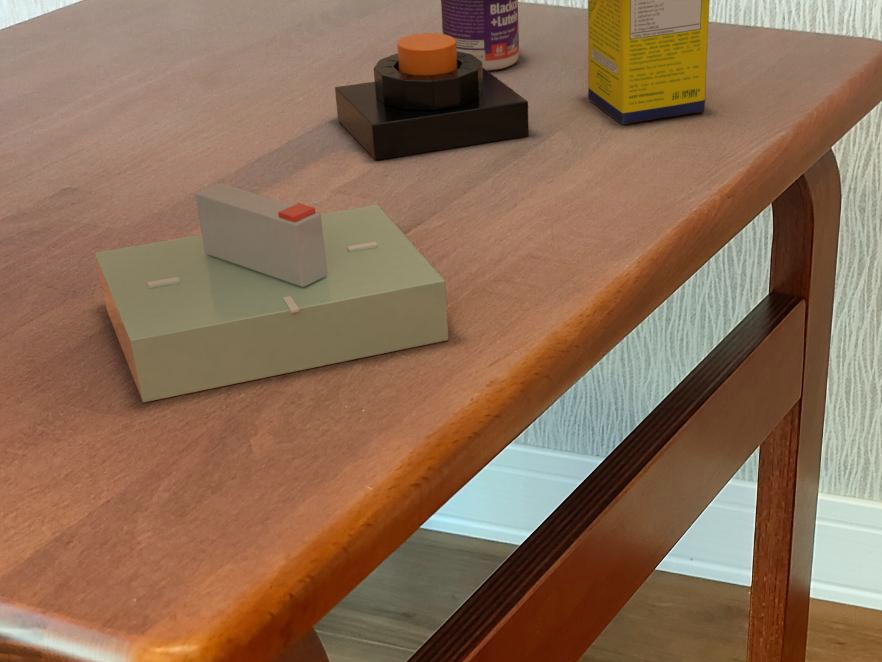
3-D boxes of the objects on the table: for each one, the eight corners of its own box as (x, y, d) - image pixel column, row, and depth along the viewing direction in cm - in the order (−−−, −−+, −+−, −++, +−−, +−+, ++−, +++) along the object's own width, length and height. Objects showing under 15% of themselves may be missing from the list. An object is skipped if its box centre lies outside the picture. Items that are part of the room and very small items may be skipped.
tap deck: (144, 406, 60) (130, 340, 58) (105, 307, 68) (92, 246, 66) (451, 343, 64) (447, 280, 63) (380, 257, 72) (375, 198, 71)
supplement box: (666, 87, 95) (672, -87, 88) (706, 114, 90) (715, -68, 84) (584, 99, 93) (585, -78, 87) (621, 126, 88) (624, -58, 82)
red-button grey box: (204, 254, 66) (193, 187, 64) (229, 243, 67) (219, 177, 65) (303, 288, 62) (294, 219, 61) (328, 275, 63) (320, 207, 62)
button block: (375, 160, 84) (369, 94, 82) (337, 121, 90) (331, 57, 88) (529, 136, 87) (527, 71, 85) (483, 99, 93) (480, 37, 91)
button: (409, 82, 85) (408, 52, 84) (391, 66, 87) (389, 37, 86) (465, 74, 86) (464, 44, 85) (445, 58, 88) (444, 30, 87)
